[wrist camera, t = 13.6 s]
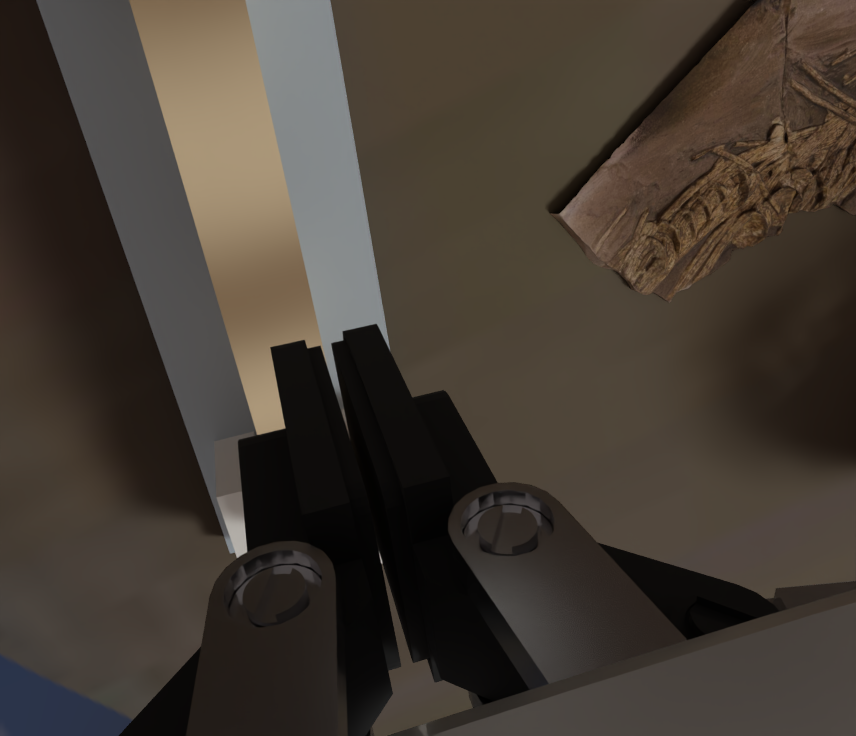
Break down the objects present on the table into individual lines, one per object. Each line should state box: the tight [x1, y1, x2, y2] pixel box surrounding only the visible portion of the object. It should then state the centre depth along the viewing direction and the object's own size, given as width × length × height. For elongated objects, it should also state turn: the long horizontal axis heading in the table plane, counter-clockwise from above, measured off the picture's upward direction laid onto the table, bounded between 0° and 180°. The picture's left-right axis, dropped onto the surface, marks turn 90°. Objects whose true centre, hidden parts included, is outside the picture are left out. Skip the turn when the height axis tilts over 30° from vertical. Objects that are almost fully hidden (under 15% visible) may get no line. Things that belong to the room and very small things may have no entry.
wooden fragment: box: [550, 0, 856, 302], centre depth 30 cm, size 26×11×1 cm, turn 110°
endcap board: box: [36, 0, 390, 563], centre depth 24 cm, size 27×8×4 cm, turn 7°
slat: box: [129, 0, 328, 435], centre depth 22 cm, size 20×2×6 cm, turn 7°
